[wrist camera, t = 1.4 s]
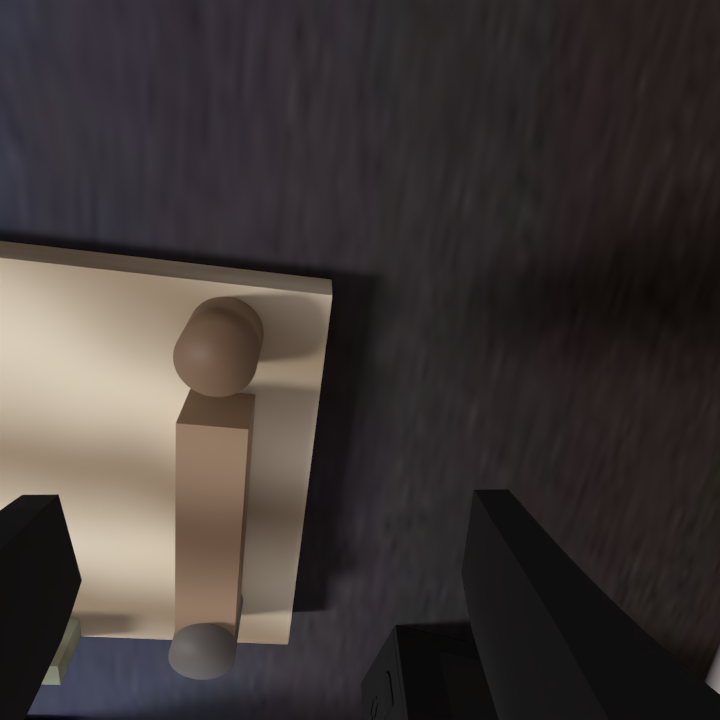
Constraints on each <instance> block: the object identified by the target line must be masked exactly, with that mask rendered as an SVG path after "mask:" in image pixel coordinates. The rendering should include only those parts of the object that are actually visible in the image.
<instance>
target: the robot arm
mask: <svg viewBox="0 0 720 720" xmlns="http://www.w3.org/2000/svg"><path fill="white" fill-rule="evenodd" d="M462 578H463V584H464V590H465V596H466V602H467V607H468V612H469V617H470V623H471V628H472V632H473V635H474V639H475V642H476V645H477V649H478V652H479V656H480V659H481V662H482V666H483V669H484V672H485V676H486V679H487V682H488V686H489V689H490V692H491V695H492V699H493V702H494V705H495V709H496V712H497V715H498V718H499V720H720V694H718V693H717V692H716V691H715V690H713V689H712V688H711V687H710V686H708V685H707V684H706V683H705V682H704V681H702V680H701V679H700V678H699V677H698V676H696V675H695V674H694V673H693V672H692V671H690V670H689V669H688V668H687V667H686V666H684V665H683V664H682V663H681V662H679V661H678V660H677V659H676V658H675V657H673V656H672V655H671V654H670V653H669V652H667V651H666V650H665V649H664V648H663V647H662V646H661V645H659V644H658V643H657V642H656V641H655V640H654V639H653V638H652V637H650V636H649V635H648V634H647V633H646V632H645V631H644V630H643V629H642V628H641V627H640V626H638V625H637V624H636V623H635V622H634V621H633V620H632V619H631V618H630V617H629V616H628V615H627V614H626V613H625V612H623V611H622V610H621V609H620V608H619V607H618V606H617V605H616V604H615V603H614V602H613V601H612V600H611V599H610V598H609V597H608V596H607V595H606V594H605V593H604V592H603V591H602V590H601V589H600V588H599V587H598V586H597V585H596V584H595V583H594V582H593V581H592V580H591V579H590V578H589V577H588V576H587V575H586V574H585V573H584V572H583V571H582V570H581V569H580V568H579V567H578V566H577V564H576V563H575V562H574V561H573V560H572V559H571V558H570V557H569V556H568V555H567V554H566V553H565V552H564V551H563V550H562V549H561V548H560V546H559V545H558V544H557V543H556V542H555V541H554V540H553V539H552V538H551V537H550V535H549V534H548V533H547V532H546V531H545V530H544V529H543V528H542V527H541V526H540V524H539V523H538V522H537V521H536V520H535V519H534V518H533V517H532V515H531V514H530V513H529V512H528V511H527V510H526V509H525V508H524V507H523V505H522V504H521V503H520V502H519V501H518V500H517V499H516V498H515V497H514V496H513V494H512V493H511V492H510V491H509V490H474V494H473V501H472V507H471V514H470V521H469V527H468V534H467V540H466V547H465V554H464V560H463V567H462ZM81 582H82V579H81V575H80V571H79V568H78V564H77V560H76V557H75V553H74V549H73V546H72V542H71V538H70V535H69V531H68V527H67V524H66V520H65V516H64V513H63V509H62V505H61V502H60V498H59V494H55V495H21V496H20V497H18V498H17V499H15V500H14V501H13V502H11V503H10V504H8V505H7V506H6V507H4V508H3V509H1V510H0V720H24V719H25V717H26V715H27V713H28V711H29V709H30V707H31V705H32V703H33V701H34V699H35V696H36V694H37V692H38V690H39V688H40V686H41V684H42V682H43V680H44V677H45V675H46V673H47V671H48V669H49V667H50V665H51V663H52V661H53V658H54V656H55V654H56V652H57V650H58V648H59V645H60V643H61V641H62V639H63V636H64V633H65V630H66V627H67V624H68V622H69V619H70V616H71V613H72V610H73V607H74V604H75V601H76V597H77V594H78V591H79V588H80V585H81Z"/></svg>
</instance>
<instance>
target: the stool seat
mask: <svg viewBox="0 0 720 720" xmlns="http://www.w3.org/2000/svg"><path fill="white" fill-rule="evenodd" d="M331 303H332V280H331V279H322V278H314V277H305V276H297V275H288V274H279V273H271V272H262V271H254V270H245V269H237V268H228V267H220V266H211V265H202V264H194V263H185V262H177V261H168V260H160V259H151V258H143V257H134V256H125V255H117V254H108V253H100V252H91V251H83V250H74V249H66V248H57V247H48V246H40V245H31V244H23V243H14V242H6V241H0V510H1V509H3V508H4V507H6V506H7V505H8V504H10V503H11V502H13V501H14V500H15V499H17V498H18V497H20V496H21V495H55V494H59V498H60V502H61V505H62V509H63V513H64V516H65V520H66V524H67V527H68V531H69V535H70V538H71V542H72V546H73V549H74V553H75V557H76V560H77V564H78V568H79V571H80V575H81V579H82V582H81V585H80V588H79V591H78V594H77V597H76V601H75V604H74V607H73V610H72V613H71V616H70V619H69V622H68V624H67V627H66V630H65V633H64V636H63V639H62V641H61V643H60V645H59V648H58V650H57V652H56V654H55V656H54V658H53V661H52V663H51V665H50V667H49V669H48V671H47V673H46V675H45V677H44V680H43V682H42V684H45V685H60V684H61V682H62V680H63V677H64V675H65V673H66V670H67V668H68V666H69V663H70V661H71V659H72V656H73V654H74V652H75V649H76V647H77V645H78V642H79V640H80V638H81V636H91V637H116V638H141V639H166V640H173V636H174V632H175V480H176V421H177V419H178V417H179V414H180V412H181V410H182V407H183V405H184V403H185V400H186V398H187V395H188V393H189V391H190V389H193V390H194V391H196V392H198V393H201V394H203V395H207V396H212V397H225V396H230V395H233V394H236V393H244V394H255V395H256V397H255V411H254V424H253V438H252V452H251V466H250V479H249V493H248V507H247V521H246V534H245V548H244V562H243V576H242V589H241V594H242V597H243V606H242V613H241V620H240V626H239V633H238V640H237V642H241V643H265V644H288V639H289V632H290V624H291V616H292V608H293V600H294V592H295V585H296V577H297V569H298V561H299V553H300V546H301V538H302V530H303V522H304V514H305V506H306V499H307V491H308V483H309V475H310V467H311V459H312V452H313V444H314V436H315V428H316V420H317V413H318V405H319V397H320V389H321V381H322V373H323V366H324V358H325V350H326V342H327V334H328V326H329V319H330V311H331Z"/></svg>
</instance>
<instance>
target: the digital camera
mask: <svg viewBox="0 0 720 720" xmlns="http://www.w3.org/2000/svg"><path fill="white" fill-rule="evenodd" d="M393 635H394V637H393ZM394 643H395V645H394ZM397 667H398V669H397ZM398 675H399V676H398ZM399 683H400V684H399ZM361 687H362V703H363V718H364V720H499V718H498V715H497V712H496V709H495V705H494V702H493V699H492V695H491V692H490V689H489V686H488V682H487V679H486V676H485V672H484V669H483V666H482V662H481V659H480V656H479V652H478V649H477V645H476V644H475V643H470V642H466V641H462V640H457V639H453V638H448V637H444V636H440V635H435V634H431V633H427V632H422V631H418V630H413V629H409V628H405V627H400V626H395V627H394V628H393V630H392V632H391V634H390V636H389V637H388V639H387V641H386V642H385V644H384V646H383V647H382V649H381V651H380V652H379V654H378V656H377V657H376V659H375V661H374V662H373V664H372V666H371V668H370V669H369V671H368V673H367V674H366V676H365V678H364V679H363V681H362V684H361Z"/></svg>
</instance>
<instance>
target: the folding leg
mask: <svg viewBox="0 0 720 720" xmlns="http://www.w3.org/2000/svg"><path fill="white" fill-rule="evenodd" d="M255 397H256V395H255V394H244V393H236V394H233V395H230V396H225V397H212V396H207V395H203V394H201V393H198V392H196V391H194V390H193V389H190V391H189V393H188V395H187V398H186V400H185V403H184V405H183V407H182V410H181V412H180V414H179V417H178V419H177V421H176V480H175V632H174V636H173V640H172V644H171V647H170V651H169V656H168V658H169V663H170V665H171V666H172V668H173V669H174V670H175V671H176V672H178V673H179V674H181V675H183V676H185V677H188V678H192V679H199V680H207V679H213V678H217V677H220V676H222V675H224V674H225V673H227V672H228V671H229V670H230V669H231V668H232V666H233V664H234V660H235V654H236V647H237V640H238V633H239V626H240V620H241V613H242V606H243V597H242V594H241V589H242V576H243V562H244V548H245V534H246V521H247V507H248V493H249V479H250V466H251V452H252V438H253V424H254V411H255Z"/></svg>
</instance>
